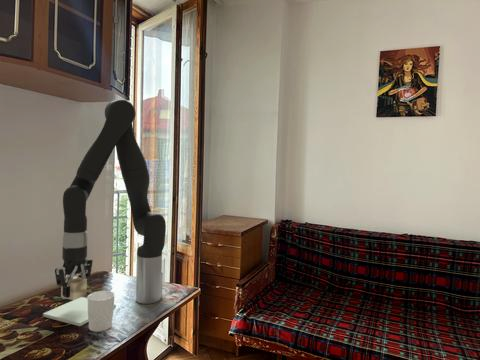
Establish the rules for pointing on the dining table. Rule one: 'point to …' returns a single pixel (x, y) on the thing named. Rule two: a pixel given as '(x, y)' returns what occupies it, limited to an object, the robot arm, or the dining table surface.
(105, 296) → the white cup
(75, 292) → the beech cube
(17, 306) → the dining table surface
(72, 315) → the sage board
